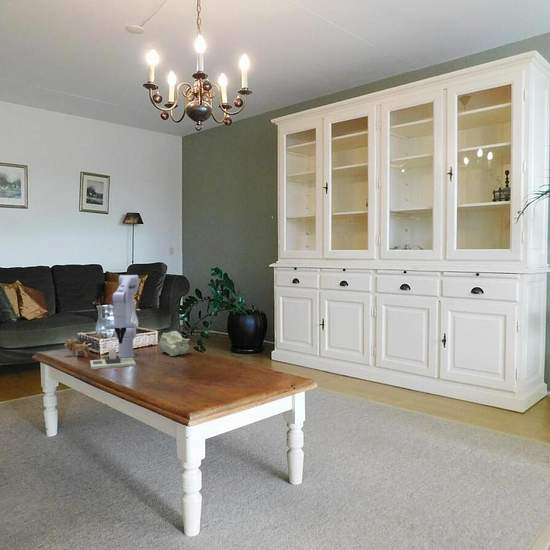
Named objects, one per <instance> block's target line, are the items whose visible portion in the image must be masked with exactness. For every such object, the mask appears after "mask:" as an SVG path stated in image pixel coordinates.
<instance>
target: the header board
mask: <svg viewBox="0 0 550 550" xmlns="http://www.w3.org/2000/svg"><path fill="white" fill-rule="evenodd" d="M89 362H90V363H89V364H90V369H91V370H98V369H99V368H102V369H113V368H114V367H115V368H124V367H123V366H128V367H136V366H137V363H136V361H135V359H134V358H133V357H123V358H120V357H119V356H118V355H116V359H109V355H108V356H105V357H104V359H103V358H102V359H93V360H91V359H90V360H89Z"/></svg>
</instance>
